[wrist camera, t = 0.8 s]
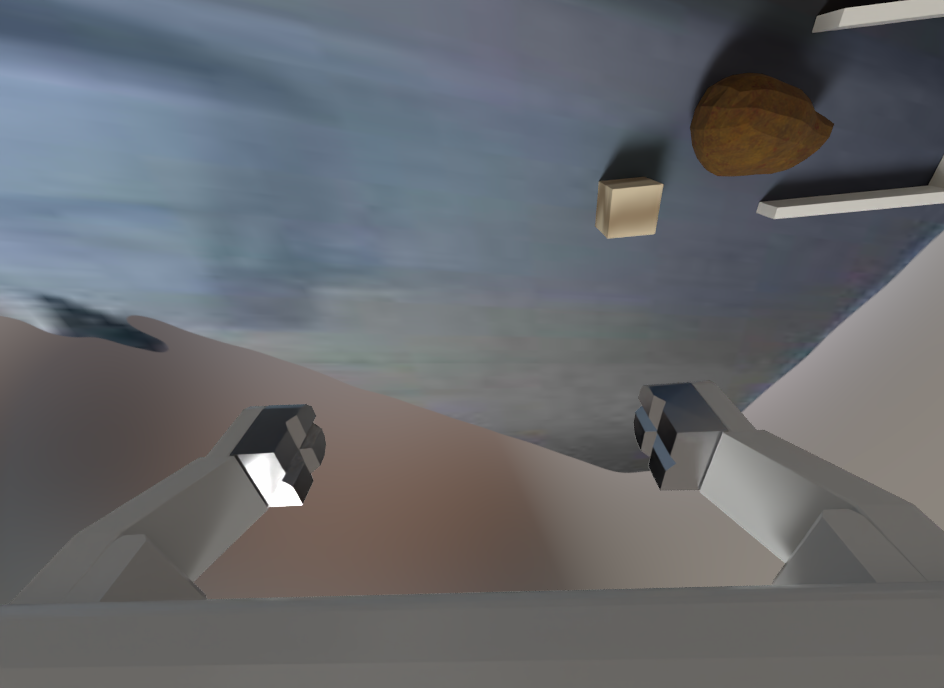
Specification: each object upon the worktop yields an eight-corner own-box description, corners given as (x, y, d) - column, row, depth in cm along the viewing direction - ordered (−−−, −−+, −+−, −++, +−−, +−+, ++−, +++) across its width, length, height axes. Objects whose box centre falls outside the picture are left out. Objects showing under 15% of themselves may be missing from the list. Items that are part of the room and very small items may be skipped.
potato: (735, 197, 42) (790, 216, 34) (655, 142, 39) (697, 150, 32) (801, 121, 38) (880, 124, 30) (718, 53, 35) (782, 38, 27)
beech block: (598, 181, 41) (612, 189, 37) (644, 176, 41) (663, 184, 37) (595, 226, 44) (607, 238, 40) (637, 222, 43) (654, 234, 39)
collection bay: (816, 16, 33) (844, 8, 31) (1047, -14, 32) (1096, -25, 29) (756, 212, 43) (773, 219, 40) (933, 195, 41) (962, 201, 39)
